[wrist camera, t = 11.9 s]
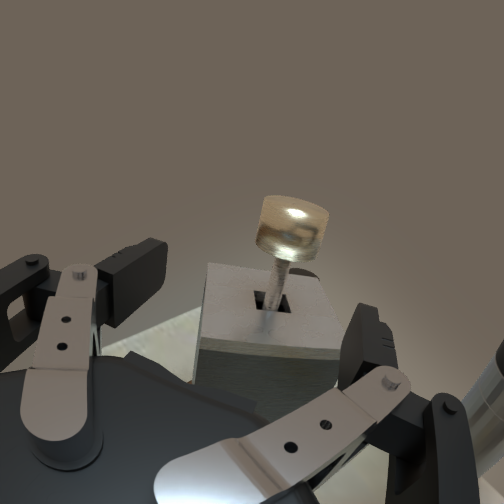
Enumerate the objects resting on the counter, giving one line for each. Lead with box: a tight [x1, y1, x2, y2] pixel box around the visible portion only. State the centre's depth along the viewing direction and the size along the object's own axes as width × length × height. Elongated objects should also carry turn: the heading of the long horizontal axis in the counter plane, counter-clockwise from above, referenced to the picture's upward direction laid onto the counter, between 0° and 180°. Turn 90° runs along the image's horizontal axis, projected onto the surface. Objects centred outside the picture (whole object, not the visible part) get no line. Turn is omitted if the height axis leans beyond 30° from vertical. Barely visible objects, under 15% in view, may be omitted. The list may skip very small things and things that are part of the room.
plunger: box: [255, 195, 329, 312], centre depth 25 cm, size 7×7×22 cm
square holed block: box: [187, 262, 345, 423], centre depth 27 cm, size 16×16×18 cm
